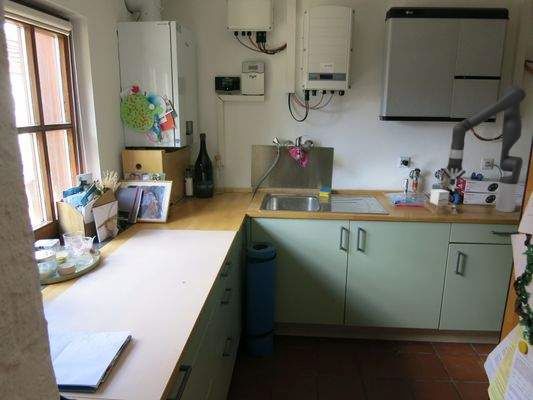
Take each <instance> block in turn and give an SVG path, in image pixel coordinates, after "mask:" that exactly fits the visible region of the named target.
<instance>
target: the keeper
mask: <svg viewBox="0 0 533 400" xmlns="http://www.w3.org/2000/svg"><path fill="white" fill-rule="evenodd" d="M424 209H425V210H428V211H430V213H434V214H436V215H445V214H446V215H448V214H449V215H450V214H451V215H458V212H457V208H453V205H436V204H434V203H431V202H430V199H425V200H424Z"/></svg>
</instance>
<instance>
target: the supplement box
mask: <svg viewBox="0 0 533 400" xmlns="http://www.w3.org/2000/svg"><path fill="white" fill-rule="evenodd" d="M429 197H430V198H429V200H430V202H431V203H434V204H436V205H448V201H449V197H450V191H448V190H445V189H442V188H439V189H436V188H435V189H431V190H430V196H429Z"/></svg>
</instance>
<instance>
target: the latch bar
mask: <svg viewBox="0 0 533 400" xmlns="http://www.w3.org/2000/svg"><path fill="white" fill-rule="evenodd" d="M448 205H453V208H456V209H457V207H458V205H457V204H454V203H453V202H450V201H449V200H448Z"/></svg>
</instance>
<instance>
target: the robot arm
mask: <svg viewBox="0 0 533 400" xmlns="http://www.w3.org/2000/svg"><path fill="white" fill-rule="evenodd" d="M526 95H527V94H526V91H525V90H524V88H522V87H521V86H520V85H519V84H516V83H515V84H510V85H508V86H507V87H506V88H505V89H504V91H503V97H502V98H500V99H499V100H497V101H496V102H494V103H493V104H490V105H487V106H485V107H482V108H480V109H478V110H477V111H475V112H474V113H472V114H471V115H470V116H468V117H467V118H465V119H463V120H461V121H460V122H458V123H457V124H455V125H454V126H453V128H452V137H451V144H450V149H449V155H448V163H447V166H446V168H443V169H442V172H444V174H445V176H446V177H447V179H449V180H450V181H449V185H451V186H454V185H455V184H456V180H458V179H460V178H461V177H462V176H463V175H465V174H466V170H464V169H463V161H464V151H465V137H466V134H467V132H469V131H470V130H472V129H473V128H475V127H477V126H479V125H480V124H482V123H484V122H486V121H487V120H488V119H490V118H492V117H494V116H496V115H497V114H500V113H502V112H504V113H503V118H502V119H503V120H502V133H501V135H502V137H501V140H502V141H501V154H500V159H499V167H500V168H499V169H500V170H501V171H503V172H510V173H511V174H510V175H508V176H501V177H500V180H499V184H498V190H497V196H496V202H495V206H494V207H495V208H494V210H495V211H499V212H501V213H512V212H514V211H515V206H516V201H517V189H518V183H519V179H520V176H521V175H520V174H521V172H522V168H523V163H524V160H523V158H522V157H521V156H515V155H514V156H512V155H509V154H510V150H511V149H512V148H513V147H514V145H515V144H516V143H517V142H518V141H519V140H520V138H521V136H522V130H523V129H522V126H523V124H522V117H521V116H522V115H521V112H520V111H521V110H520V108H521V107H520V106H521V103H522V102H523V101H524V100H525V99H526ZM448 172H449V173H448Z"/></svg>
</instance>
